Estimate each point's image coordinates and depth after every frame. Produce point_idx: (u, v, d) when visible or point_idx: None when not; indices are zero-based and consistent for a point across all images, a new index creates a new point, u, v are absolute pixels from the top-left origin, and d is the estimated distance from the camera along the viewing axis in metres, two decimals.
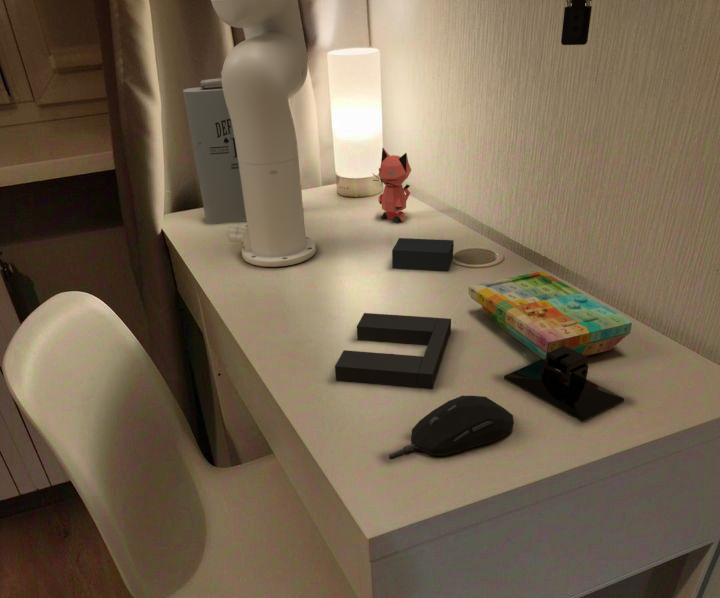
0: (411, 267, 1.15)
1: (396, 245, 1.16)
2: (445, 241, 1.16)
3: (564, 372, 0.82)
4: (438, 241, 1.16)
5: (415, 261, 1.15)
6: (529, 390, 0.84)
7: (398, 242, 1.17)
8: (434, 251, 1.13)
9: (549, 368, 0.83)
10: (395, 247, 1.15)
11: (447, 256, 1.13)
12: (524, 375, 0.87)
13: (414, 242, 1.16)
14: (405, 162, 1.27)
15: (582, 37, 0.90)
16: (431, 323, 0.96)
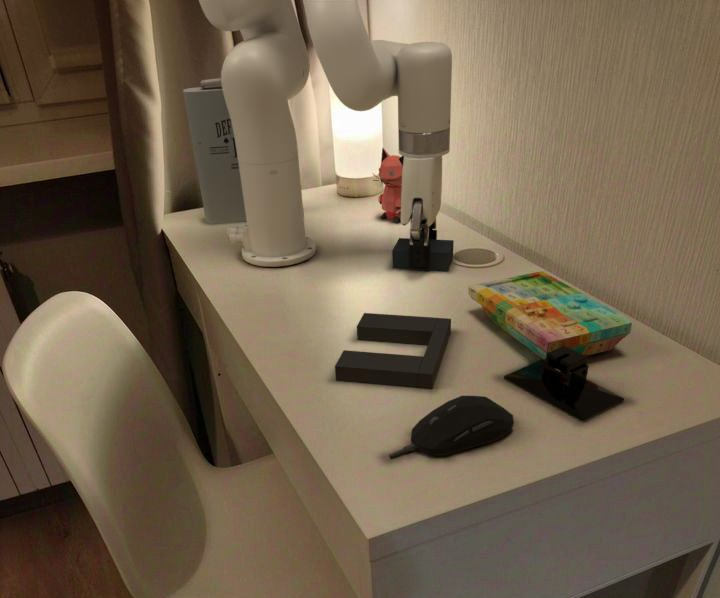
0: None
1: (396, 245, 1.16)
2: (445, 241, 1.16)
3: (564, 372, 0.82)
4: (438, 241, 1.16)
5: None
6: (529, 390, 0.84)
7: (398, 242, 1.17)
8: (434, 251, 1.13)
9: (549, 368, 0.83)
10: (395, 247, 1.15)
11: (447, 256, 1.13)
12: (524, 375, 0.87)
13: None
14: None
15: (425, 265, 1.14)
16: (431, 323, 0.96)
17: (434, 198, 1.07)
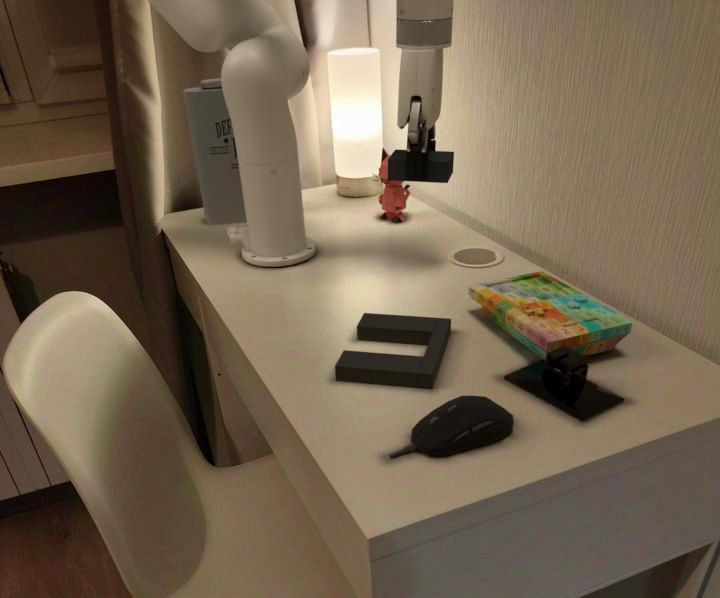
0: None
1: (392, 155, 1.08)
2: (445, 152, 1.08)
3: (564, 372, 0.82)
4: (437, 152, 1.08)
5: None
6: (529, 390, 0.84)
7: (394, 153, 1.09)
8: (433, 160, 1.05)
9: (549, 368, 0.83)
10: (391, 157, 1.07)
11: (447, 166, 1.05)
12: (524, 375, 0.87)
13: None
14: None
15: (422, 175, 1.06)
16: (431, 323, 0.96)
17: (434, 97, 0.99)
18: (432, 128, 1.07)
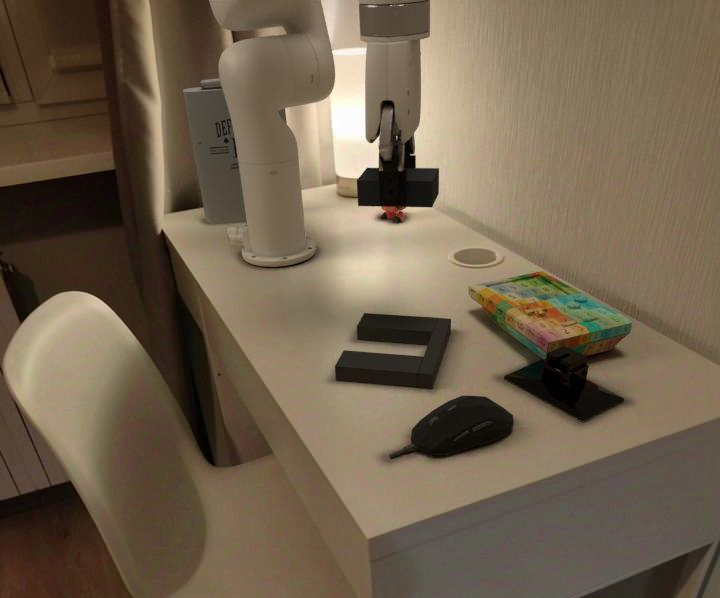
0: None
1: (362, 175, 0.87)
2: (428, 169, 0.87)
3: (564, 372, 0.82)
4: (418, 170, 0.87)
5: None
6: (529, 390, 0.84)
7: (365, 172, 0.88)
8: (413, 180, 0.84)
9: (549, 368, 0.83)
10: (361, 177, 0.86)
11: (430, 186, 0.84)
12: (524, 375, 0.87)
13: None
14: None
15: (400, 199, 0.85)
16: (431, 323, 0.96)
17: (410, 102, 0.78)
18: (410, 141, 0.87)
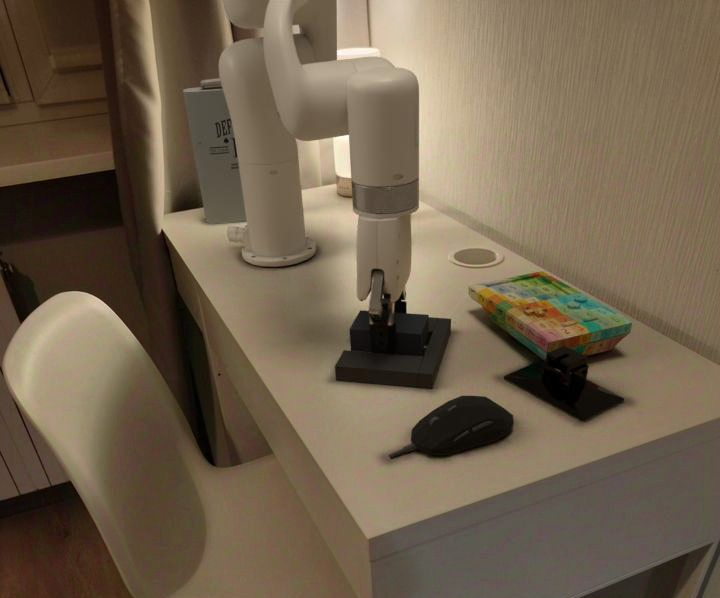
0: None
1: (355, 322, 0.91)
2: (418, 316, 0.91)
3: (564, 372, 0.82)
4: (409, 316, 0.92)
5: None
6: (529, 390, 0.84)
7: (358, 317, 0.92)
8: (403, 332, 0.88)
9: (549, 368, 0.83)
10: (354, 325, 0.90)
11: (419, 338, 0.88)
12: (524, 375, 0.87)
13: None
14: None
15: (390, 348, 0.89)
16: (431, 323, 0.96)
17: (399, 268, 0.82)
18: (401, 290, 0.91)
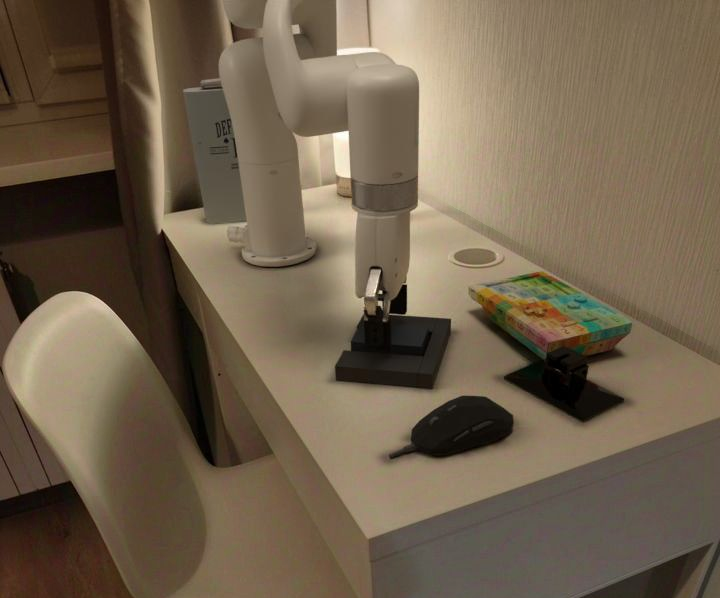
0: None
1: (356, 334, 0.92)
2: (418, 328, 0.92)
3: (564, 372, 0.82)
4: (409, 328, 0.93)
5: None
6: (529, 390, 0.84)
7: (359, 329, 0.93)
8: (403, 345, 0.89)
9: (549, 368, 0.83)
10: (355, 337, 0.91)
11: (420, 350, 0.89)
12: (524, 375, 0.87)
13: None
14: None
15: (385, 344, 0.87)
16: (431, 323, 0.96)
17: (398, 266, 0.83)
18: None
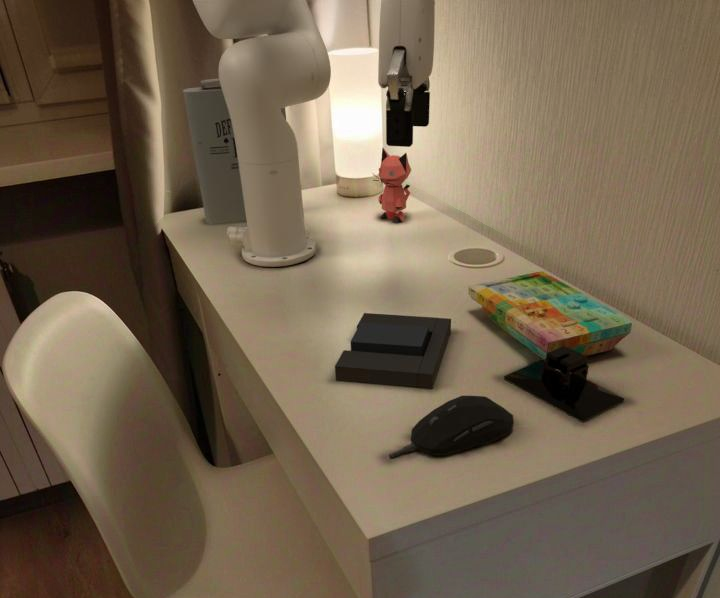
0: None
1: (356, 334, 0.92)
2: (418, 328, 0.92)
3: (564, 372, 0.82)
4: (409, 328, 0.93)
5: None
6: (529, 390, 0.84)
7: (359, 329, 0.93)
8: (403, 345, 0.89)
9: (549, 368, 0.83)
10: (355, 337, 0.91)
11: (420, 350, 0.89)
12: (524, 375, 0.87)
13: (379, 329, 0.93)
14: (405, 162, 1.27)
15: (406, 139, 0.87)
16: (431, 323, 0.96)
17: (422, 48, 0.82)
18: None
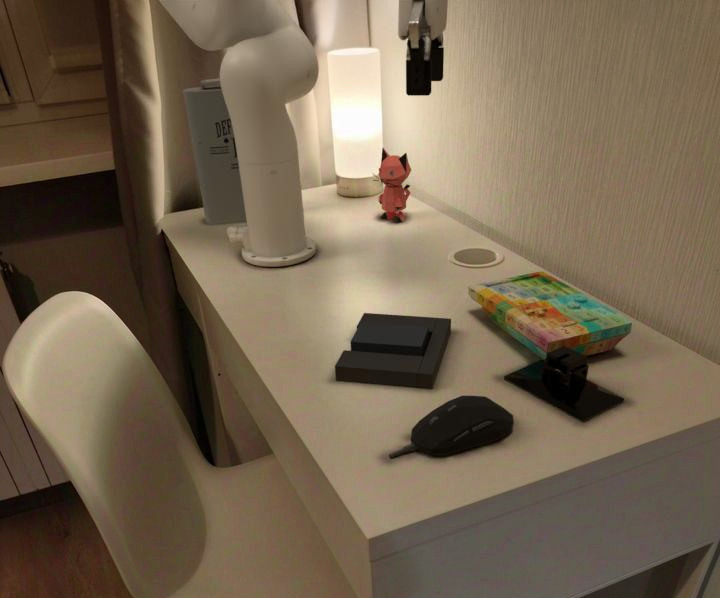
0: None
1: (356, 334, 0.92)
2: (418, 328, 0.92)
3: (564, 372, 0.82)
4: (409, 328, 0.93)
5: None
6: (529, 390, 0.84)
7: (359, 329, 0.93)
8: (403, 345, 0.89)
9: (549, 368, 0.83)
10: (355, 337, 0.91)
11: (420, 350, 0.89)
12: (524, 375, 0.87)
13: (379, 329, 0.93)
14: (405, 162, 1.27)
15: (425, 88, 0.92)
16: (431, 323, 0.96)
17: (439, 0, 0.88)
18: (439, 33, 0.97)
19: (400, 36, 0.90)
